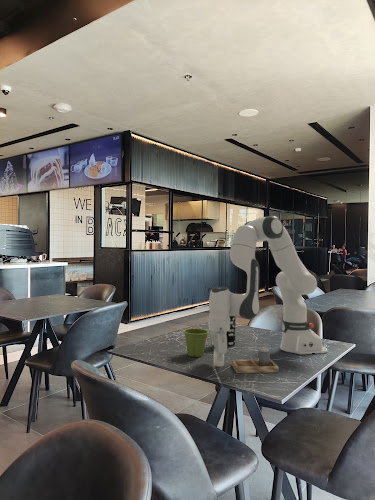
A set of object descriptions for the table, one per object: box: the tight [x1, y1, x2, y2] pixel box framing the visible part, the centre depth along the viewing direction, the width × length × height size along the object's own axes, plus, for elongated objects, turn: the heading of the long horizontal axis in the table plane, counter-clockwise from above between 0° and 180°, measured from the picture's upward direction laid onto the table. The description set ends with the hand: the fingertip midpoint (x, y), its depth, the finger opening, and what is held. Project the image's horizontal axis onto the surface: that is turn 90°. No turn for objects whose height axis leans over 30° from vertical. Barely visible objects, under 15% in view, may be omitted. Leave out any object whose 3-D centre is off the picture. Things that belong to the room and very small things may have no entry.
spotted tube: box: [226, 315, 237, 348], centre depth 195 cm, size 8×8×20 cm
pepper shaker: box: [258, 347, 271, 367], centre depth 155 cm, size 4×4×8 cm
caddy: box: [231, 359, 280, 374], centre depth 155 cm, size 17×10×3 cm, turn 94°
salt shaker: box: [212, 347, 225, 369], centre depth 159 cm, size 4×4×8 cm
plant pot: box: [183, 327, 210, 358], centre depth 176 cm, size 12×12×11 cm
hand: (218, 358), depth 159 cm, fingers closed on salt shaker, 4 cm apart
